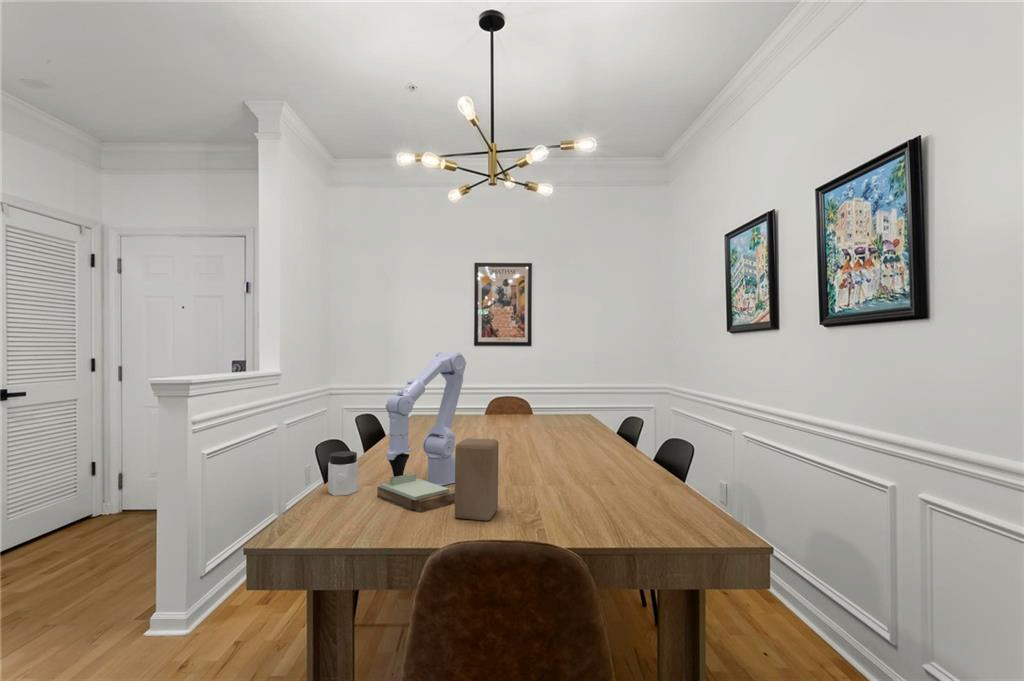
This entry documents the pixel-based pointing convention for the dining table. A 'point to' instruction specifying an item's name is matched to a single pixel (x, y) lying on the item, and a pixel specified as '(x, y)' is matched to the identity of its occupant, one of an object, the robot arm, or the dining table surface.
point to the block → (476, 479)
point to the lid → (413, 487)
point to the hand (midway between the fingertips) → (398, 478)
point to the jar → (343, 473)
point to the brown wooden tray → (419, 504)
